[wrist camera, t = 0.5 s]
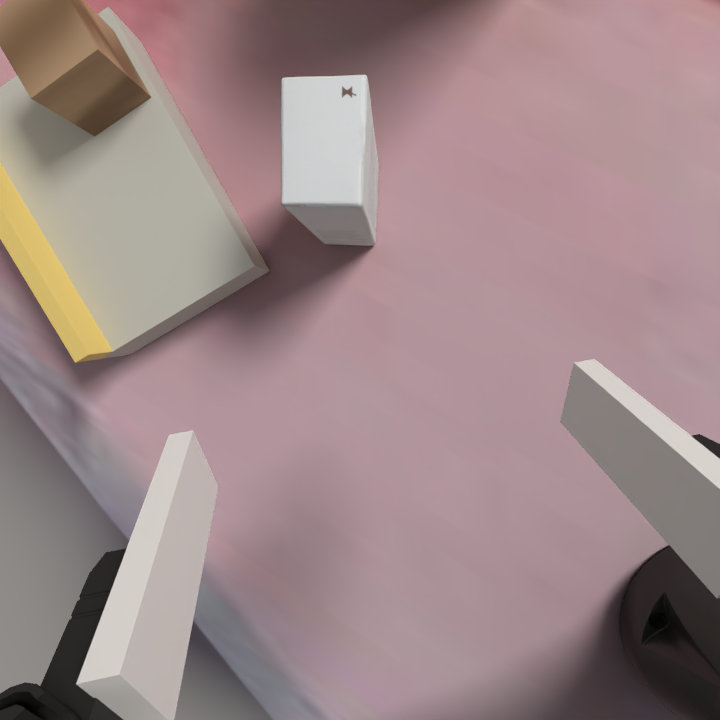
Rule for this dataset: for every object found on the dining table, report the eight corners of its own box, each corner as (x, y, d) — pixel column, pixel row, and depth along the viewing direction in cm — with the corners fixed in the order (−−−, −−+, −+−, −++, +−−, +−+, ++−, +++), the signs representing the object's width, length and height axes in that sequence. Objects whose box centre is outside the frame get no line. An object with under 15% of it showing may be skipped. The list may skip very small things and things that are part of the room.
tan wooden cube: (151, 97, 27) (97, 49, 22) (95, 136, 28) (30, 98, 23) (113, 30, 27) (51, -33, 22) (57, 72, 28) (-16, 19, 23)
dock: (269, 271, 32) (241, 261, 26) (130, 354, 33) (75, 362, 28) (140, 41, 30) (80, -24, 25) (4, 140, 32) (-83, 102, 26)
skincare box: (324, 166, 30) (279, 71, 18) (379, 166, 30) (370, 69, 18) (322, 247, 31) (278, 205, 19) (376, 248, 31) (365, 206, 19)
